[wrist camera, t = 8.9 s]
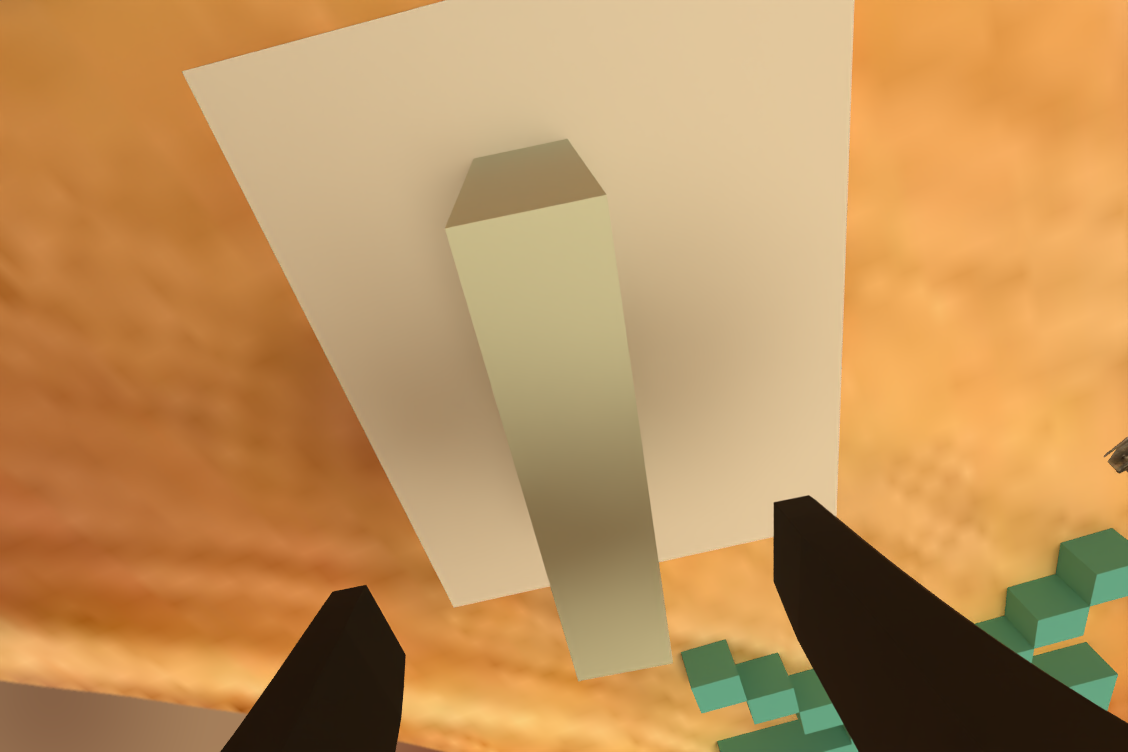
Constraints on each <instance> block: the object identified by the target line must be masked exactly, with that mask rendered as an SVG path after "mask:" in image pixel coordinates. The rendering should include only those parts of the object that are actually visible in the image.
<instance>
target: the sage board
mask: <svg viewBox="0 0 1128 752" xmlns="http://www.w3.org/2000/svg"><path fill="white" fill-rule="evenodd" d="M445 231H446V234H447V238H448V241H449V244H450V248H451V251H452V255H453V258H454V261H455V265H456V268H457V271H458V275H459V278H460V282H461V285H462V288H463V292H464V295H465V299H466V302H467V305H468V309H469V312H470V316H471V319H472V322H473V326H474V329H475V332H476V336H477V339H478V343H479V346H480V349H481V353H482V356H483V360H484V363H485V366H486V370H487V373H488V377H489V380H490V383H491V387H492V390H493V393H494V397H495V400H496V404H497V407H498V410H499V414H500V417H501V421H502V424H503V427H504V431H505V434H506V438H507V441H508V444H509V448H510V451H511V455H512V458H513V461H514V465H515V468H516V471H517V475H518V478H519V482H520V485H521V488H522V492H523V495H524V499H525V502H526V505H527V509H528V512H529V516H530V519H531V522H532V526H533V529H534V532H535V536H536V539H537V543H538V546H539V549H540V553H541V556H542V560H543V563H544V566H545V570H546V573H547V577H548V580H549V583H550V587H551V590H552V594H553V597H554V600H555V604H556V607H557V610H558V614H559V617H560V621H561V624H562V627H563V631H564V634H565V638H566V641H567V644H568V648H569V651H570V655H571V658H572V661H573V665H574V668H575V671H576V675H577V678H578V681H582V680H587V679H592V678H598V677H603V676H608V675H614V674H619V673H624V672H630V671H635V670H640V669H645V668H651V667H656V666H661V665H667V664H672V663H673V660H672V653H671V645H670V638H669V631H668V624H667V617H666V610H665V603H664V596H663V589H662V582H661V575H660V568H659V561H658V554H657V547H656V540H655V532H654V525H653V518H652V511H651V504H650V497H649V490H648V483H647V476H646V469H645V462H644V455H643V448H642V441H641V434H640V427H639V419H638V412H637V405H636V398H635V391H634V384H633V377H632V370H631V363H630V356H629V349H628V342H627V335H626V328H625V321H624V314H623V306H622V299H621V292H620V285H619V278H618V271H617V264H616V257H615V250H614V243H613V236H612V229H611V222H610V215H609V208H608V201H607V194H606V193H605V192H604V190H603V189H602V187H601V186H600V185H599V183H598V182H597V180H596V179H595V177H594V176H593V175H592V173H591V172H590V170H589V169H588V167H587V166H586V165H585V163H584V162H583V160H582V159H581V157H580V156H579V155H578V153H577V152H576V150H575V149H574V148H573V146H572V145H571V143H570V142H569V140H568V139H564V140H559V141H555V142H550V143H545V144H540V145H536V146H531V147H526V148H521V149H517V150H512V151H507V152H502V153H498V154H493V155H488V156H483V157H479V158H474V159H473V161H472V164H471V166H470V169H469V171H468V173H467V176H466V178H465V181H464V183H463V186H462V188H461V190H460V193H459V195H458V198H457V200H456V203H455V205H454V207H453V210H452V212H451V215H450V217H449V219H448V222H447V224H446V227H445Z"/></svg>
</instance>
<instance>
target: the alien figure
mask: <svg viewBox="0 0 1128 752" xmlns="http://www.w3.org/2000/svg"><path fill="white" fill-rule="evenodd" d="M1126 596H1128V540H1127V539H1125V538H1124V537H1123V536H1122V535H1120V534H1119V533H1118V532H1116V531H1115V530H1114V529H1113V528H1111V529H1107V530H1104V531H1100V532H1097V533H1093V534H1090V535H1087V536H1083V537H1080V538H1076V539H1073V540H1069V541H1066V542H1062V543H1061V545H1060V551H1059V557H1058V563H1057V569H1056V574H1054V575H1051V576H1047V577H1044V578H1040V579H1037V580H1033V581H1029V582H1026V583H1022V584H1019V585H1015V586H1012V587H1008V588H1007V597H1006V607H1005V616H1002V617H998V618H994V619H991V620H987V621H984V622H980V623H976V624H975V625H977V626H978V627H979V628H981V629H982V630H984V631H985V632H987V633H988V634H990V635H991V636H992V637H994V638H995V639H997V640H998V641H1000V642H1001V643H1002V644H1004V645H1005V646H1007V647H1008V648H1010V649H1011V650H1013V651H1014V652H1016V653H1017V654H1019V655H1020V656H1022V657H1023V658H1025V659H1026V660H1028V661H1029V662H1031V663H1032V664H1034V665H1035V666H1037V667H1038V668H1040V669H1041V670H1043V671H1044V672H1046V673H1047V674H1049V675H1050V676H1052V677H1054V678H1055V679H1057V680H1058V681H1060V682H1061V683H1063V684H1065V685H1066V686H1068V687H1069V688H1071V689H1073V690H1074V691H1076V692H1077V693H1079V694H1081V695H1082V696H1084V697H1085V698H1087V699H1089V700H1090V701H1092V702H1093V703H1095V704H1097V705H1098V706H1100V707H1101V708H1103V709H1105V710H1106V711H1107V710H1108V706H1109V703H1110V700H1111V696H1112V693H1113V690H1114V686H1115V683H1116V679H1117V676H1118V674H1117V673H1116V672H1115V671H1114V670H1113V669H1112V668H1111V667H1110V666H1109V665H1108V664H1107V663H1106V662H1105V661H1104V660H1103V659H1102V658H1101V657H1100V656H1099V655H1098V654H1097V653H1096V652H1095V651H1094V650H1093V649H1092V647H1091V646H1090V645H1089V644H1088V643H1087V642H1084V643H1081V644H1077V645H1073V646H1069V647H1066V648H1062V649H1058V650H1055V651H1051V652H1047V653H1043V654H1040V655H1036V656H1033V652H1034V649H1035V648H1039V647H1042V646H1046V645H1050V644H1053V643H1057V642H1061V641H1064V640H1068V639H1072V638H1075V637H1079V636H1083V635H1084V630H1085V626H1086V621H1087V617H1088V612H1089V608H1090V606H1093V605H1097V604H1100V603H1104V602H1107V601H1111V600H1115V599H1118V598H1122V597H1126ZM681 654H682V658H683V661H684V665H685V668H686V672H687V675H688V679H689V682H690V686H691V689H692V692H693V694H694V696H695V699H696V701H697V704H698V706H699V708H700V711H701V713H705V712H709V711H712V710H716V709H720V708H723V707H727V706H731V705H734V704H738V703H741V702H745V701H747V704H748V707H749V710H750V712H751V715H752V718H753V721H754V723H755V724H758V723H762V722H766V721H769V720H773V719H777V718H780V717H784V716H788V715H791V714H795V713H796V715H797V718H798V720H795V721H791V722H787V723H783V724H780V725H776V726H772V727H769V728H765V729H761V730H757V731H754V732H750V733H746V734H743V735H739V736H735V737H731V738H728V739H724V740H720V741H717V743H718V746H719V749H720V752H858V750H857V748H856V746H855V744H854V742H853V741H852V739H851V737H850V735H849V733H848V732H847V730H846V728H845V726H844V724H843V722H842V721H841V719H840V717H839V715H838V713H837V711H836V710H835V708H834V706H833V704H832V702H831V700H830V699H829V697H828V695H827V693H826V691H825V689H824V688H823V686H822V684H821V682H820V680H819V678H818V676H817V675H816V673H815V671H814V669H811V670H807V671H804V672H800V673H796V674H793V675H789V676H788V674H787V672H786V670H785V668H784V665H783V663H782V661H781V659H780V657H779V654H778V653H775V654H771V655H768V656H764V657H761V658H757V659H753V660H750V661H746V662H743V663H739V664H736V665H735V663H734V661H733V658H732V655H731V653H730V650H729V647H728V644H727V642H726V639H725V640H722V641H718V642H715V643H711V644H708V645H704V646H701V647H697V648H694V649H690V650H687V651H684V652H681Z"/></svg>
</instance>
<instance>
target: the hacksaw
mask: <svg viewBox="0 0 1128 752" xmlns="http://www.w3.org/2000/svg"><path fill="white" fill-rule="evenodd" d="M1115 449H1116V451H1115V452H1114V453H1113V455H1112V456H1111V458H1110V459H1109V460H1108V463H1109V464H1110V465H1111V466H1112V467H1113V468H1115V469H1116V470H1117V472H1118V473H1122V472H1123V471H1127V472H1128V437H1126V438H1125V439H1124V440H1123V441H1122V442H1121V443H1119V444H1118V445H1117V446H1115V447H1114V448H1113V449H1112V450H1110V451H1109V452H1107V453H1106V454H1105V455H1104V457H1106V456H1107V455H1108V454H1110V453H1111V452H1112V451H1114V450H1115Z"/></svg>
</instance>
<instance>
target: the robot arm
mask: <svg viewBox="0 0 1128 752" xmlns="http://www.w3.org/2000/svg"><path fill="white" fill-rule="evenodd" d="M774 584H775V586H776V588H777V591H778V593H779V596H780V598H781V601H782V603H783V606H784V608H785V611H786V613H787V616H788V618H789V620H790V623H791V625H792V627H793V630H794V632H795V634H796V637H797V639H798V641H799V643H800V645H801V647H802V649H803V650H804V652H805V654H806V656H807V658H808V660H809V662H810V664H811V665H812V667H813V669H814V671H815V673H816V675H817V676H818V678H819V680H820V682H821V684H822V686H823V688H824V689H825V691H826V693H827V695H828V697H829V699H830V700H831V702H832V704H833V706H834V708H835V710H836V711H837V713H838V715H839V717H840V719H841V721H842V722H843V724H844V726H845V728H846V730H847V732H848V733H849V735H850V737H851V739H852V741H853V742H854V744H855V746H856V748H857V750H858V752H1128V723H1126V722H1125V721H1123V720H1121V719H1120V718H1118V717H1116V716H1115V715H1113V714H1111V713H1110V712H1108V711H1106V710H1105V709H1103V708H1101V707H1100V706H1098V705H1097V704H1095V703H1093V702H1092V701H1090V700H1089V699H1087V698H1085V697H1084V696H1082V695H1081V694H1079V693H1077V692H1076V691H1074V690H1073V689H1071V688H1069V687H1068V686H1066V685H1065V684H1063V683H1061V682H1060V681H1058V680H1057V679H1055V678H1054V677H1052V676H1050V675H1049V674H1047V673H1046V672H1044V671H1043V670H1041V669H1040V668H1038V667H1037V666H1035V665H1034V664H1032V663H1031V662H1029V661H1028V660H1026V659H1025V658H1023V657H1022V656H1020V655H1019V654H1017V653H1016V652H1014V651H1013V650H1011V649H1010V648H1008V647H1007V646H1005V645H1004V644H1002V643H1001V642H1000V641H998V640H997V639H995V638H994V637H992V636H991V635H990V634H988V633H987V632H985V631H984V630H982V629H981V628H979V627H978V626H977V625H975V624H974V623H972V622H971V621H969V620H968V619H967V618H965V617H964V616H963V615H961V614H960V613H958V612H957V611H956V610H954V609H953V608H952V607H950V606H949V605H947V604H946V603H945V602H943V601H942V600H941V599H939V598H938V597H937V596H935V595H934V594H933V593H931V592H930V591H929V590H927V589H926V588H925V587H923V586H922V585H921V584H919V583H918V582H917V581H916V580H914V579H913V578H912V577H910V576H909V575H908V574H906V573H905V572H904V571H902V570H901V569H900V568H898V567H897V566H896V565H895V564H893V563H892V562H891V561H890V560H888V559H887V558H886V557H885V556H883V555H882V554H881V553H880V552H878V551H877V550H876V549H875V548H873V547H872V546H871V545H870V544H868V543H867V542H866V541H865V540H863V539H862V538H861V537H860V536H859V535H857V534H856V533H855V532H854V531H852V530H851V529H850V528H849V527H848V526H846V525H845V524H844V523H843V522H842V521H840V520H839V519H838V518H837V517H836V516H834V515H833V514H832V513H831V512H830V511H828V510H827V509H826V508H825V507H824V506H823V505H821V504H820V503H819V502H818V501H817V500H815V499H814V498H812V497H811V496H809V495H807V496H802V497H797V498H792V499H787V500H782V501H777V502H774ZM405 656H406V655H405V653H404V651H403V649H402V648H401V646H400V644H399V642H398V640H397V639H396V637H395V635H394V633H393V632H392V630H391V628H390V626H389V624H388V623H387V621H386V619H385V617H384V616H383V614H382V612H381V610H380V608H379V607H378V605H377V603H376V601H375V600H374V598H373V596H372V594H371V592H370V591H369V589H368V587H367V585H363V586H358V587H354V588H349V589H344V590H339V591H334V592H332V593H331V595H330V596H329V598H328V599H327V600H326V602H325V603H324V605H323V606H322V608H321V609H320V611H319V612H318V613H317V615H316V616H315V618H314V619H313V621H312V622H311V624H310V625H309V627H308V628H307V629H306V631H305V632H304V634H303V635H302V637H301V638H300V640H299V641H298V643H297V644H296V646H295V647H294V648H293V650H292V651H291V653H290V654H289V656H288V657H287V659H286V660H285V662H284V663H283V665H282V666H281V667H280V669H279V670H278V672H277V673H276V675H275V676H274V678H273V679H272V681H271V682H270V683H269V685H268V686H267V688H266V689H265V690H264V692H263V693H262V695H261V696H260V698H259V699H258V700H257V702H256V703H255V705H254V706H253V708H252V709H251V710H250V712H249V713H248V715H247V716H246V718H245V719H244V720H243V722H242V723H241V725H240V726H239V727H238V729H237V730H236V731H235V733H234V735H233V736H232V737H231V738H230V740H229V741H228V742H227V744H226V745H225V746H224V748H223V749H222V750H221V752H395V750H396V744H397V739H398V733H399V728H400V722H401V714H402V702H403V690H404V673H405Z"/></svg>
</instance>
